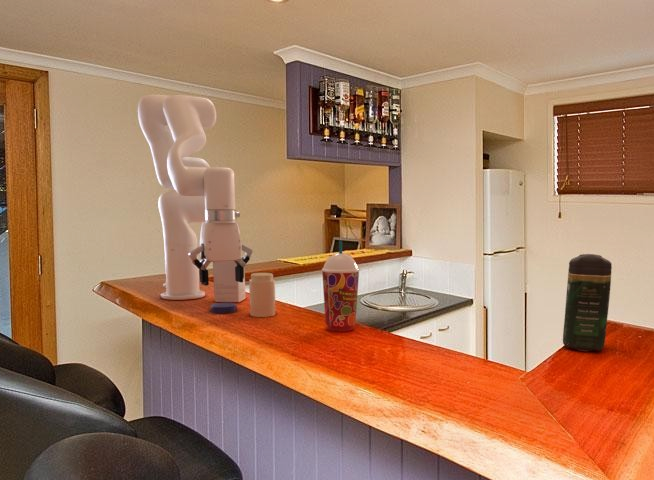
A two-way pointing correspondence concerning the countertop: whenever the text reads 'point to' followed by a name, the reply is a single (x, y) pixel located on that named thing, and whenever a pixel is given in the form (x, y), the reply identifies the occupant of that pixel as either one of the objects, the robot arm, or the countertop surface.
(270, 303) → the jar
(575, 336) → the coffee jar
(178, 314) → the countertop surface
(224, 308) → the jar lid
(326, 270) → the smoothie
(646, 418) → the countertop surface
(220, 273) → the white packaging box
